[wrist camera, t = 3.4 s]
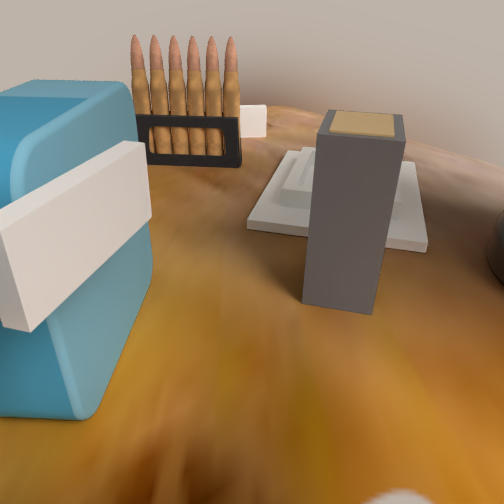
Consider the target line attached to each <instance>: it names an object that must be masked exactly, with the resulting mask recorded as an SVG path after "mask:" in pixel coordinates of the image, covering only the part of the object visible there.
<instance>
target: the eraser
mask: <svg viewBox="0 0 504 504" xmlns="http://www.w3.org/2000/svg"><path fill="white" fill-rule="evenodd" d="M266 114H267V107H266V105H240V133H241V138H245V137H266Z"/></svg>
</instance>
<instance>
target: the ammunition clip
mask: <svg viewBox="0 0 504 504" xmlns="http://www.w3.org/2000/svg"><path fill="white" fill-rule="evenodd" d="M187 65H188V70H187V76H188V79H187V103H188V104H187V103H186V88H185V83H184V79H183V71H182V63H181V55H180V50H179V47H178V43H177V40H176V38H175V36H172V38H171V41H170V46H169V88H168V89H169V102H170V111H169V103H168V92H167V84H166V81H165V76H164V69H163V61H162V55H161V50H160V46H159V43H158V41H157V38H156V36H155V35H153V36H152V39H151V44H150V76H151V80H150V93H151V101H150V93H149V85H148V81H147V78H146V72H145V67H144V59H143V54H142V50H141V47H140V43H139V41H138V39H137V37H136V35H133V37H132V42H131V66H132V70H131V71H132V95H133V103H134V109H135V117H136V125H137V133H138V141H139V142H142V143H145V150H146V160H147V165H172V166H199V167H227V168H239V167H240V166H241V163H242V153H241V133H240V87H239V82H238V71H237V54H236V48H235V44H234V41H233V39H232V37H229V40H228V43H227V47H226V52H225V71H224V84H223V112H222V88H221V83H220V75H219V61H218V53H217V48H216V44H215V41H214V39H213V37H212V36H211V37H210V39H209V42H208V46H207V53H206V81H205V111H204V91H203V83H202V79H201V70H200V58H199V52H198V47H197V44H196V41H195V38H194V36H191V38H190V41H189V46H188V56H187ZM151 103H152V110H151ZM187 106H188V111H187ZM188 127H189V133H188ZM171 128H172V137H171ZM205 128H206V132H205ZM154 133H155V138H154ZM223 135H224V150H223ZM206 140H207V150H206ZM172 142H173V148H172ZM189 142H190V147H189ZM155 145H156V147H155Z"/></svg>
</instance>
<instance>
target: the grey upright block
mask: <svg viewBox="0 0 504 504" xmlns="http://www.w3.org/2000/svg"><path fill="white" fill-rule="evenodd" d="M405 143H406V139H405V132H404V124H403V117H402V115H396V114H383V113H368V112H355V111H341V110H328V112H327V114H326V116H325V118H324V120H323V122H322V125H321V127H320V129H319V131H318V133H317V141H316V152H315V163H314V174H313V185H312V196H311V207H310V219H309V230H308V241H307V252H306V263H305V274H304V285H303V296H302V304H308V305H314V306H320V307H326V308H332V309H338V310H344V311H350V312H356V313H362V314H368V315H372V311H373V306H374V301H375V296H376V291H377V286H378V281H379V276H380V271H381V265H382V260H383V255H384V250H385V245H386V240H387V235H388V230H389V225H390V220H391V215H392V209H393V204H394V199H395V194H396V189H397V184H398V179H399V174H400V169H401V164H402V159H403V154H404V148H405Z"/></svg>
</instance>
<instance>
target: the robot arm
mask: <svg viewBox="0 0 504 504" xmlns="http://www.w3.org/2000/svg"><path fill="white" fill-rule="evenodd" d="M151 217H152V211H151V201H150V191H149V181H148V171H147V160H146V150H145V143H142V142H133V141H122V142H120V143H119V144H117V145H115V146H113V147H111V148H110V149H108V150H106V151H104V152H102V153H101V154H99V155H97V156H95V157H93V158H92V159H90V160H88V161H86V162H84V163H83V164H81V165H79V166H77V167H75V168H74V169H72V170H70V171H68V172H66V173H64V174H63V175H61V176H59V177H57V178H55V179H54V180H52V181H50V182H48V183H46V184H45V185H43V186H41V187H39V188H37V189H36V190H34V191H32V192H30V193H28V194H27V195H25V196H23V197H21V198H19V199H18V200H16V201H14V202H12V203H10V204H9V205H7V206H5V207H3V208H1V209H0V319H1V321H2V324H3V327H7V328H11V329H16V330H21V331H25V332H30V333H31V332H32V331H33V330H34V329H35V328H36V327H37V326H38V325H39V324H40V323H41V322H42V321H43V320H44V319H45V318H46V317H47V316H48V315H50V314H51V313H52V312H53V311H54V310H55V309H56V308H57V307H58V306H59V305H60V304H61V303H62V302H63V301H64V300H65V299H66V298H67V297H68V296H69V295H71V294H72V293H73V292H74V291H75V290H76V289H77V288H78V287H79V286H80V285H81V284H82V283H83V282H84V281H85V280H86V279H87V278H88V277H89V276H90V275H92V274H93V273H94V272H95V271H96V270H97V269H98V268H99V267H100V266H101V265H102V264H103V263H104V262H105V261H106V260H107V259H108V258H109V257H110V256H112V255H113V254H114V253H115V252H116V251H117V250H118V249H119V248H120V247H121V246H122V245H123V244H124V243H125V242H126V241H127V240H128V239H129V238H130V237H131V236H133V235H134V234H135V233H136V232H137V231H138V230H139V229H140V228H141V227H142V226H143V225H144V224H145V223H146V222H147V221H148V220H149V219H150V218H151ZM487 258H488V261H489V264H490V266H491V268H492V270H493V271H494V273H495V274H496V276H497V277H498V278H499V279H500V280H501V281H502V282H503V283H504V211H503V212H502V213H501V215H500V216H499V218H498V220H497V222H496V224H495V227H494V230H493V233H492V236H491V239H490V242H489V245H488V248H487Z"/></svg>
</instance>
